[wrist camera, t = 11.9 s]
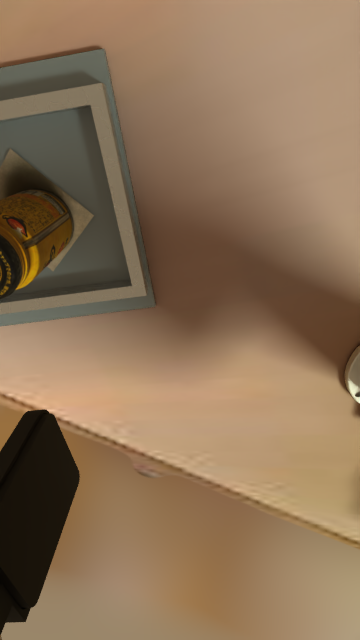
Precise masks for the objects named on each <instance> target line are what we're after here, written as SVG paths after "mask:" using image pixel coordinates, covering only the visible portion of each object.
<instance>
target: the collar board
mask: <svg viewBox="0 0 360 640" xmlns="http://www.w3.org/2000/svg"><path fill="white" fill-rule="evenodd" d="M10 149H11V150H13V151H14V152H15V153H16V154H18V155H19V156H20V157H21V158H22V159H24V160H25V161H27V162H28V163H29V164H31V165H32V166H33V167H34V168H35V169H37V170H38V171H39V172H40V173H42V174H43V175H44V176H45V177H46V178H48V179H49V180H50V181H52V182H53V183H54V184H55V185H57V186H58V187H59V188H61V189H62V190H63V191H64V192H66V193H67V194H68V195H69V196H71V197H72V198H73V199H74V200H76V201H77V202H78V203H79V204H80V205H82V206H83V207H84V208H85V209H87V210H88V211H89V212H90V213H91V214H93V215H94V216H93V218H92V219H91V221H90V222H89V223H88V225H87V226H86V227H85V229H84V230H83V231H82V233H81V234H80V236H79V237H78V238H77V240H76V241H75V242H74V244H73V245H72V247H71V248H70V249H69V251H68V252H67V253H66V255H65V256H64V257H63V259H62V260H61V262H60V263H59V264H58V266H57V267H56V268H55V270H54V271H52V270H51V269H50V268H48V267H46V268H44V269H43V271H42V272H41V273H40V274H39V275H38V276H37V277H36V278H35V279H34V280H33V281H32V282H30V283H29V284H28V285H26V286H25V287H23V288H20V289H17V290H15V291H14V292H13V293H12V294H11V295H10V296H7V297H5V298H4V299H1V300H0V326H7V325H15V324H23V323H31V322H38V321H46V320H54V319H62V318H70V317H78V316H86V315H94V314H102V313H110V312H118V311H126V310H134V309H141V308H149V307H155V306H156V303H155V298H154V293H153V288H152V283H151V278H150V273H149V268H148V263H147V258H146V253H145V248H144V243H143V238H142V233H141V228H140V223H139V218H138V213H137V208H136V203H135V198H134V193H133V188H132V183H131V178H130V173H129V168H128V163H127V158H126V153H125V148H124V143H123V138H122V133H121V128H120V123H119V118H118V113H117V108H116V103H115V98H114V93H113V88H112V83H111V78H110V73H109V68H108V63H107V58H106V53H105V50H104V49H99V50H94V51H88V52H83V53H78V54H72V55H67V56H61V57H56V58H51V59H45V60H40V61H35V62H29V63H24V64H19V65H13V66H8V67H3V68H0V167H1V165H2V163H3V161H4V160H5V158H6V155H7V153H8V152H9V150H10Z"/></svg>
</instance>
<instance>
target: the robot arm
mask: <svg viewBox="0 0 360 640" xmlns="http://www.w3.org/2000/svg"><path fill="white" fill-rule="evenodd" d="M345 383H346V387H347V389H348V391H349V392H350V394H351V396H352V397H353V398H354V399H355V401H356V402H358V403H359V404H360V345H359V346H358V347H357V348H356V350H355V351H354V352H353V354H352V355H351V357H350V359H349V361H348V363H347V365H346V369H345ZM79 477H80V476H79V470H78V468H77V466H76V464H75V461H74V459H73V457H72V455H71V452H70V450H69V448H68V446H67V443H66V441H65V439H64V437H63V435H62V432H61V430H60V427H59V425H58V423H57V421H56V418H55V416H54V415H53V414H50V413H49V412H48V411H47V410H35V411H27V412H26V413H25V414H24V415H23V417H22V418H21V420H20V421H19V423H18V425H17V426H16V428H15V429H14V431H13V433H12V434H11V436H10V437H9V439H8V440H7V442H6V443H5V445H4V447H3V448H2V450H1V451H0V640H2V638H1V633H2V630H3V627H4V625H5V623H6V622H26V619H27V616H28V614H29V611H30V608H31V607H34V606H35V605H36V603H37V601H38V599H39V596H40V593H41V590H42V588H43V585H44V582H45V579H46V576H47V573H48V570H49V567H50V564H51V562H52V559H53V556H54V553H55V550H56V547H57V544H58V541H59V539H60V536H61V533H62V530H63V527H64V524H65V521H66V518H67V516H68V513H69V510H70V507H71V504H72V501H73V498H74V495H75V492H76V490H77V487H78V484H79Z"/></svg>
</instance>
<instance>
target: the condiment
mask: <svg viewBox="0 0 360 640" xmlns="http://www.w3.org/2000/svg"><path fill="white" fill-rule="evenodd" d="M93 216H94V215H93V214H91V213H90V212H89V211H88V210H87V209H85V208H84V207H83V206H82V205H80V204H79V203H78V202H77V201H76V200H74V199H73V198H72V197H71V196H69V195H68V194H67V193H66V192H64V191H63V190H62V189H61V188H59V187H58V186H57V185H55V184H54V183H53V182H52V181H50V180H49V179H48V178H46V177H45V176H44V175H43V174H42V173H40V172H39V171H38V170H37V169H35V168H34V167H33V166H32V165H31V164H29V163H28V162H27V161H25V160H24V159H22V158H21V157H20V156H19V155H18V154H16V153H15V152H14V151H13V150H11V149H10V150H9V152H8V153H7V155H6V158H5V160H4V161H3V163H2V165H1V167H0V300H1V299H4V298H5V297H7V296H10V295H11V294H12V293H13V292H14V291H15V290H17V289H20V288H23V287H25V286H26V285H28V284H29V283H30V282H32V281H33V280H34V279H35V278H36V277H37V276H38V275H39V274H40V273H41V272H42V271H43V269H44V268H46V267H48V268H50V269H51V270H52V271H54V270H55V268H56V267H57V266H58V264H59V263H60V262H61V260H62V259H63V257H64V256H65V255H66V253H67V252H68V251H69V249H70V248H71V247H72V245H73V244H74V242H75V241H76V240H77V238H78V237H79V236H80V234H81V233H82V231H83V230H84V229H85V227H86V226H87V225H88V223H89V222H90V221H91V219H92V218H93Z"/></svg>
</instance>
